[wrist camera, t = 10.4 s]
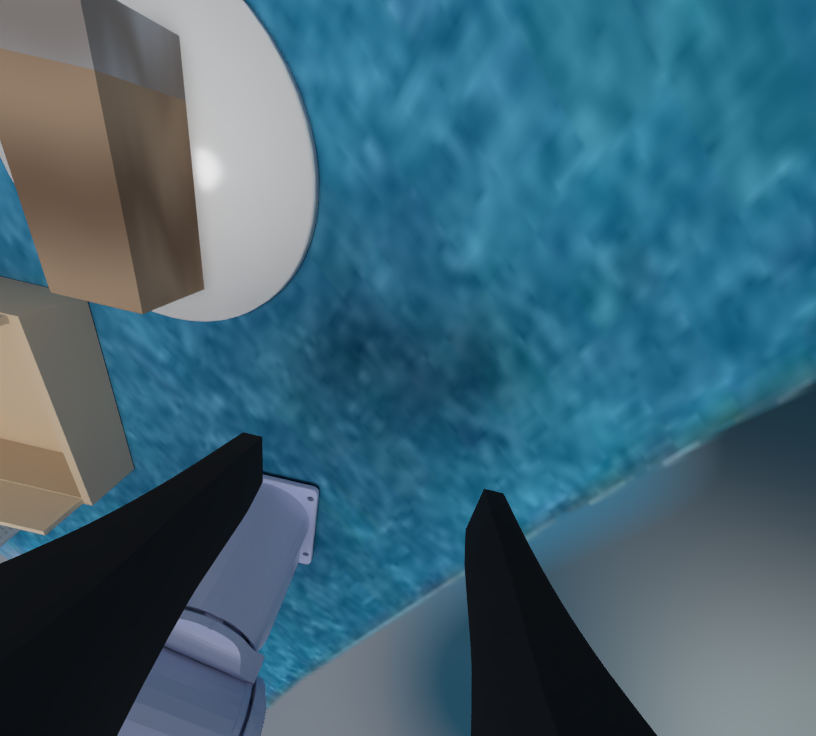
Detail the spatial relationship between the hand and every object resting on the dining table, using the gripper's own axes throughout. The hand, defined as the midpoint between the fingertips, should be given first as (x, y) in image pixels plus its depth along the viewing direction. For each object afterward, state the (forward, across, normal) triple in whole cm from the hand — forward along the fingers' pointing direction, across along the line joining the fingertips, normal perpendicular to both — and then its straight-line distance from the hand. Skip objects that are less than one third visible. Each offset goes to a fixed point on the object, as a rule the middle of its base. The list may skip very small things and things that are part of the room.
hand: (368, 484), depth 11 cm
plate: (+9, +13, -7) cm, 18 cm away
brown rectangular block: (+9, +13, -7) cm, 17 cm away
